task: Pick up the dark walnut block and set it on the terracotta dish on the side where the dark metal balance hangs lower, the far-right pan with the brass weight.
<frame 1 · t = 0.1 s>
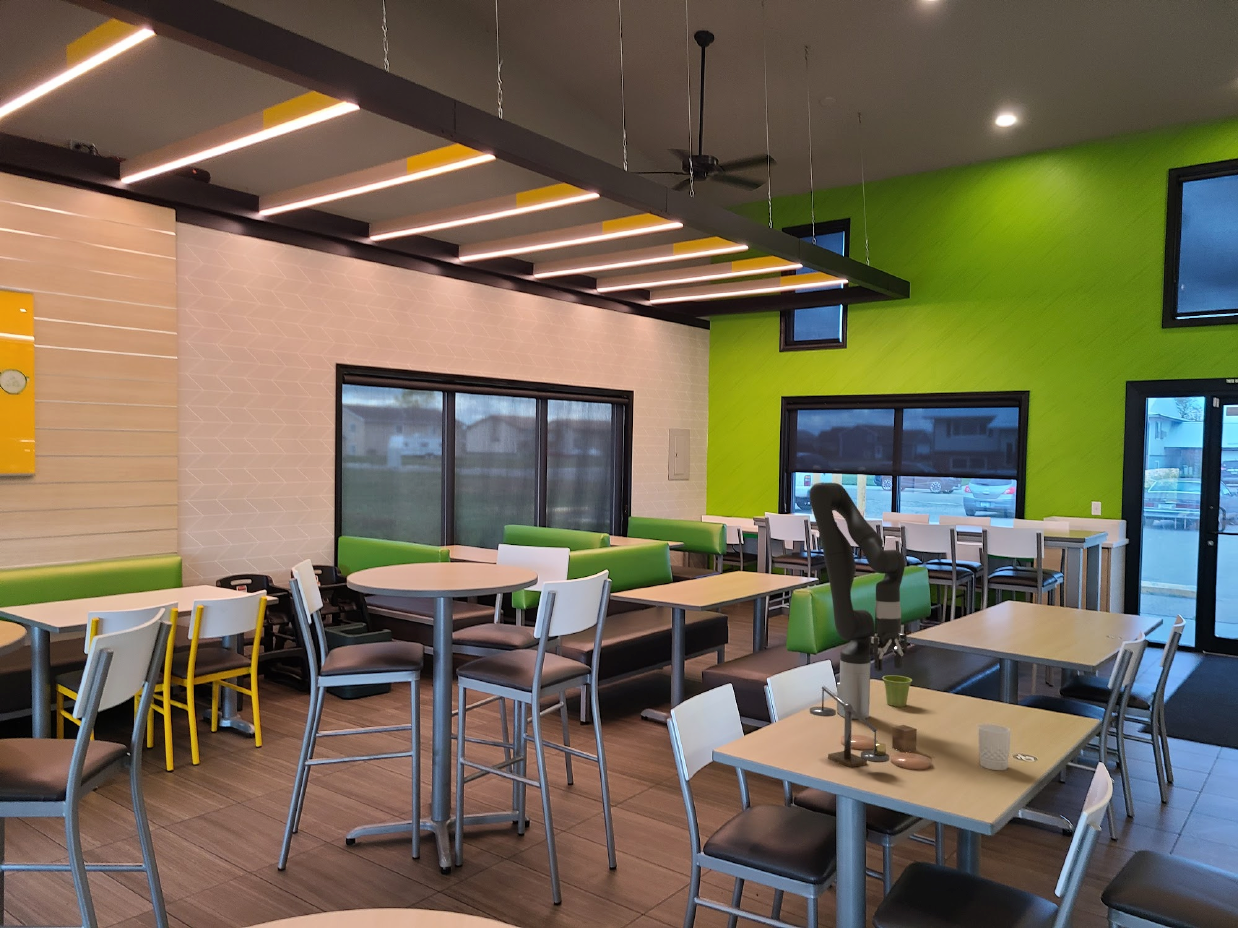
hand: (888, 669, 265), 17 cm above the table, tool pointing down, fingers open, 8 cm apart
balance: (847, 761, 232), on the table
dish right: (910, 763, 231), on the table
dish left: (859, 744, 247), on the table
walnut block: (904, 749, 243), on the table
plant pot: (896, 705, 291), on the table
white cup: (993, 766, 230), on the table
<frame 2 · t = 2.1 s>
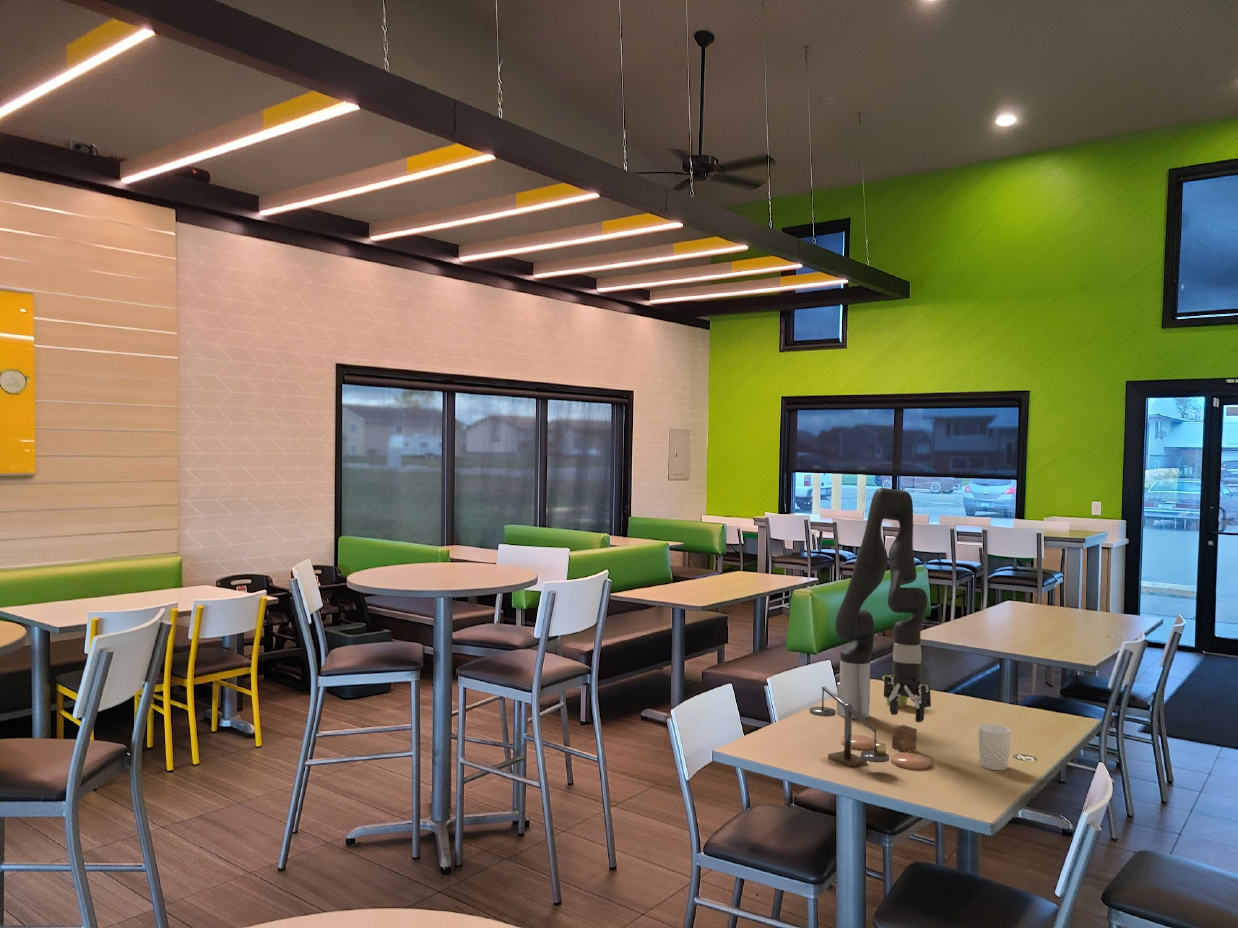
hand: (906, 717, 243), 9 cm above the table, tool pointing down, fingers open, 8 cm apart
nothing on the table moved.
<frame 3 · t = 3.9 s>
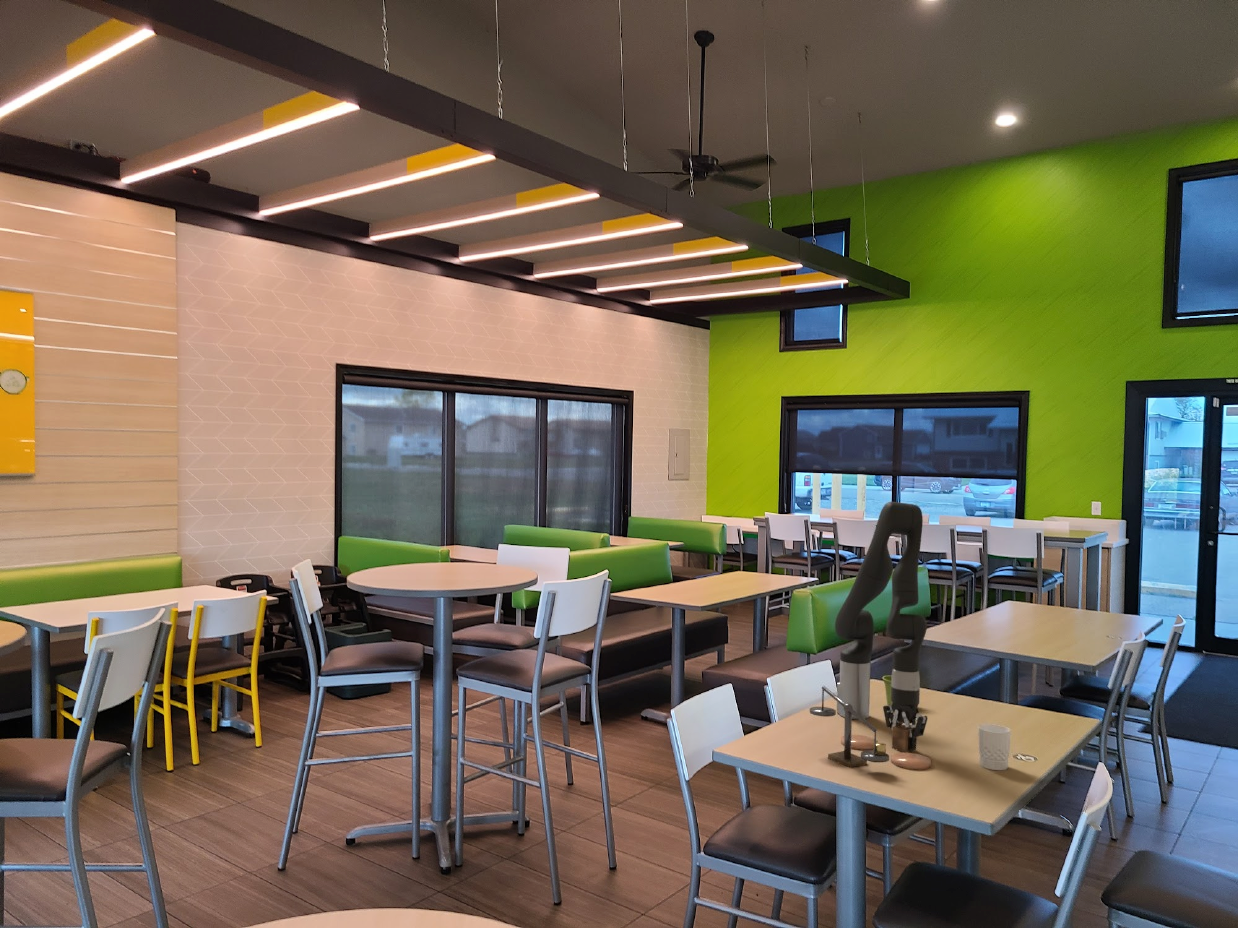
hand: (904, 747, 243), 1 cm above the table, tool pointing down, fingers closed on walnut block, 4 cm apart
walnut block: (904, 749, 243), on the table, touching gripper
everything else where it was.
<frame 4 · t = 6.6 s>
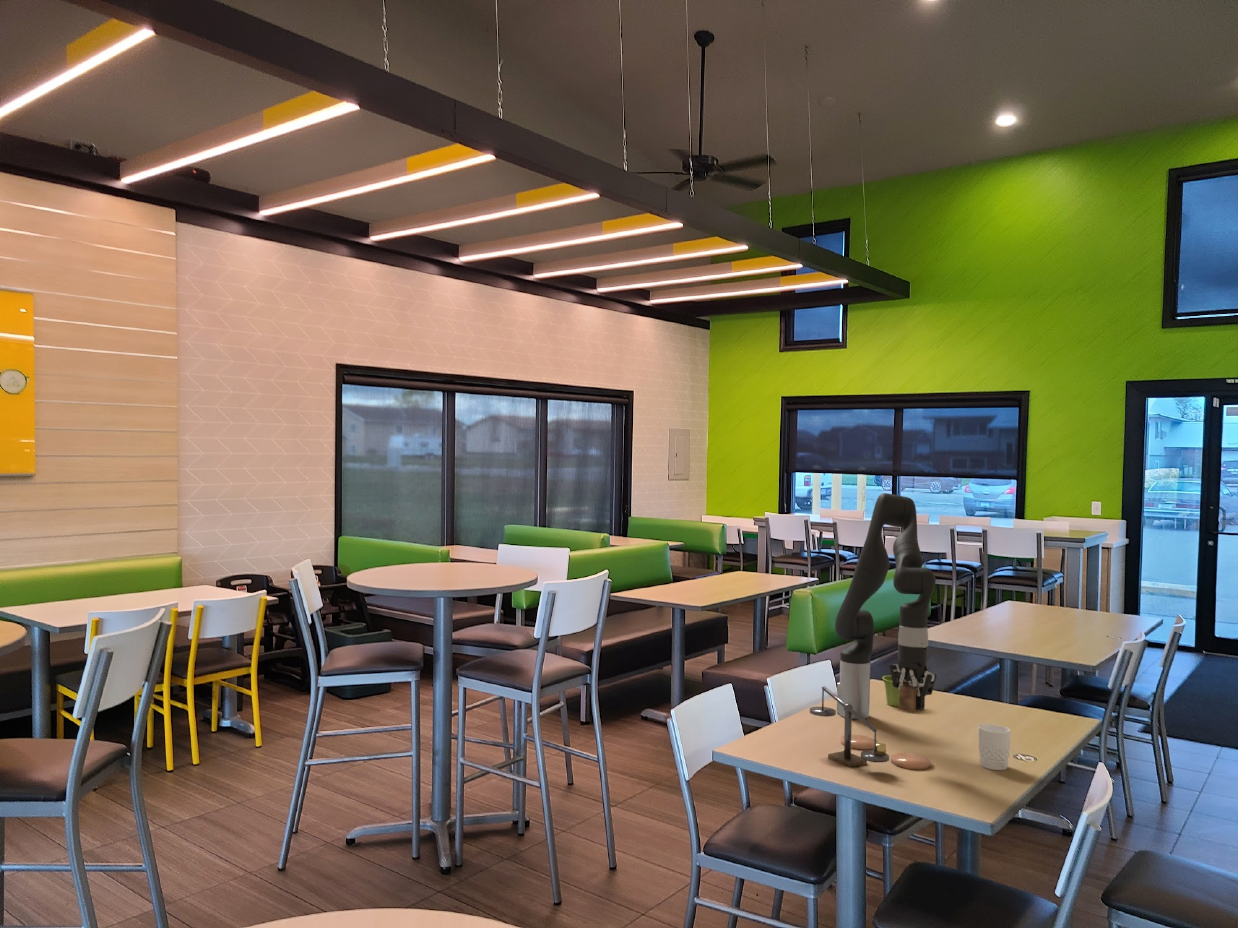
hand: (911, 707, 231), 15 cm above the table, tool pointing down, fingers closed on walnut block, 4 cm apart
walnut block: (911, 709, 231), point 14 cm above the table, touching gripper
everything else where it was.
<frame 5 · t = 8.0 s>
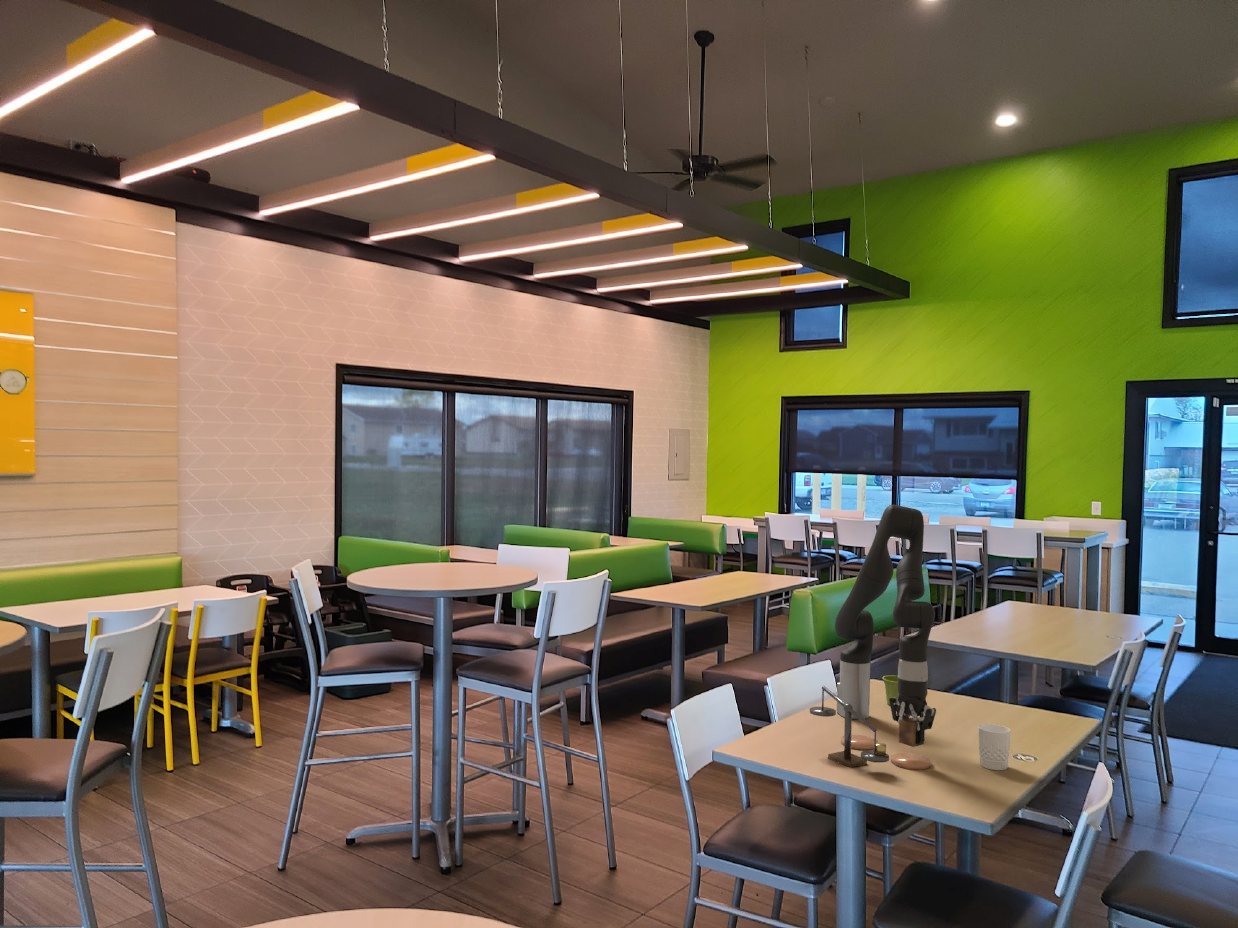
hand: (911, 741, 231), 6 cm above the table, tool pointing down, fingers closed on walnut block, 4 cm apart
walnut block: (911, 743, 231), point 5 cm above the table, touching gripper
everything else where it was.
when the fingers open (4 cm above the table, at t = 9.3 s): walnut block drops 2 cm, resting on dish right.
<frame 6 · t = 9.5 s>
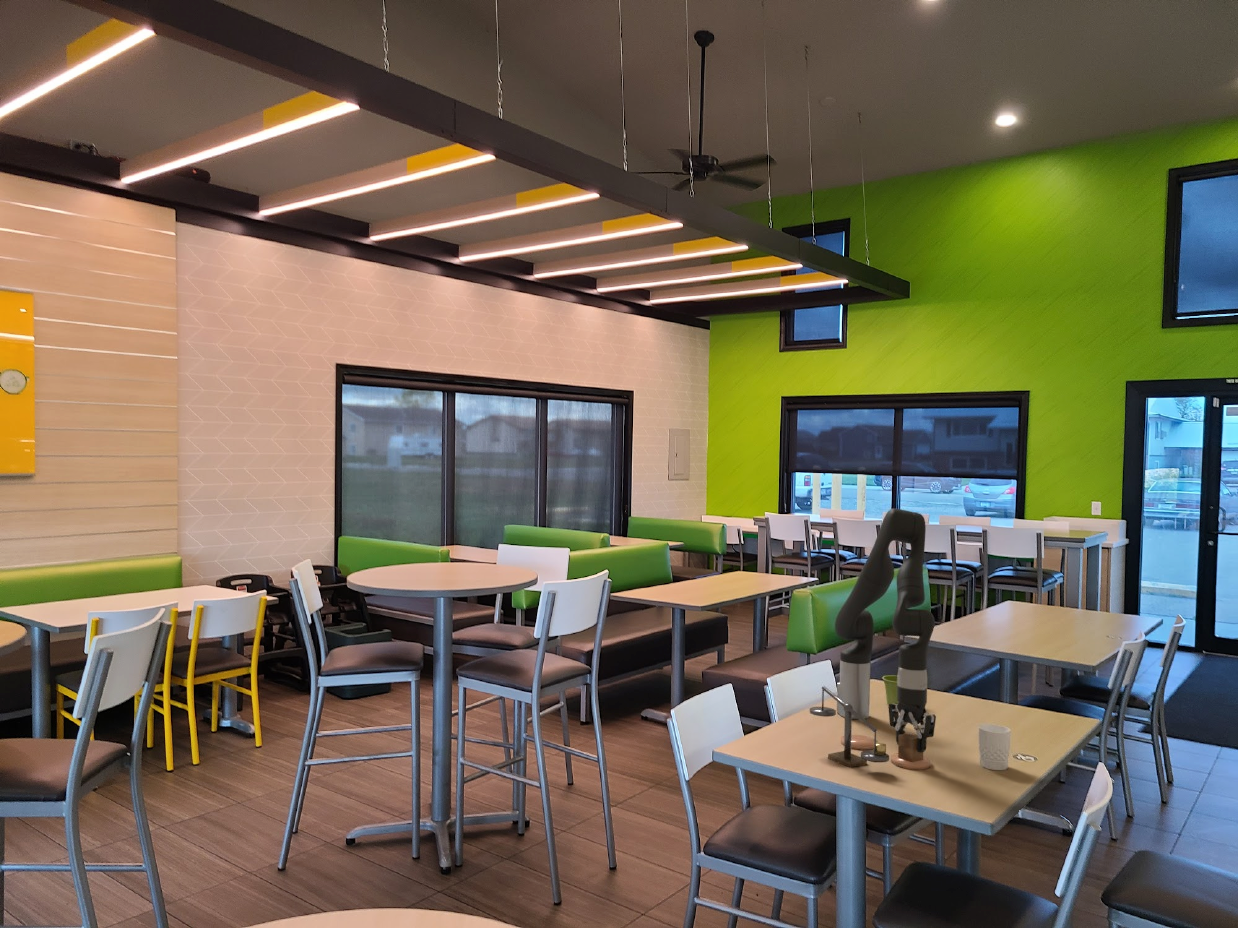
hand: (910, 747, 231), 4 cm above the table, tool pointing down, fingers open, 6 cm apart
walnut block: (910, 758, 231), point 1 cm above the table, touching dish right
everything else where it was.
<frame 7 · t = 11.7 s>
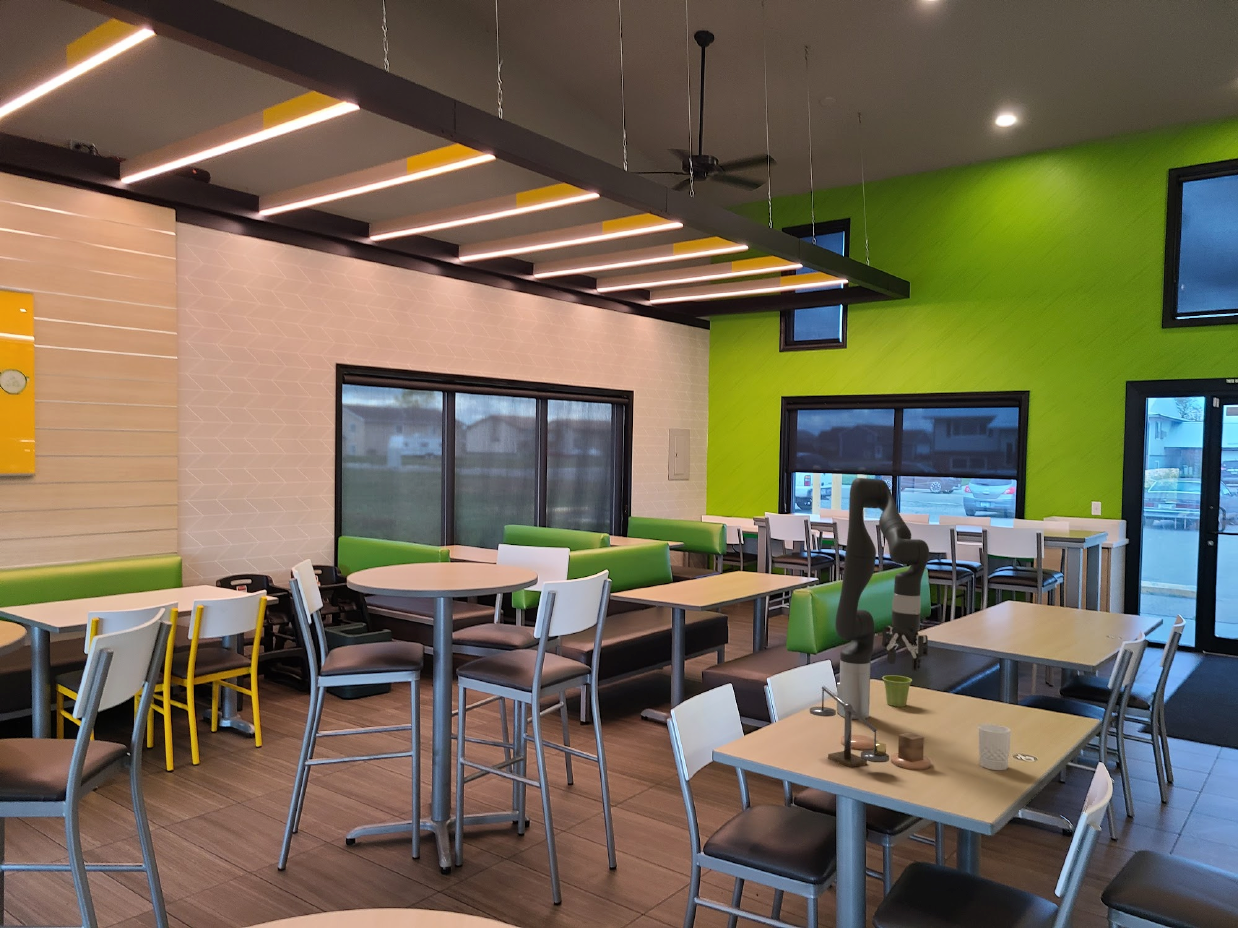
hand: (903, 667, 246), 22 cm above the table, tool pointing down, fingers open, 8 cm apart
nothing on the table moved.
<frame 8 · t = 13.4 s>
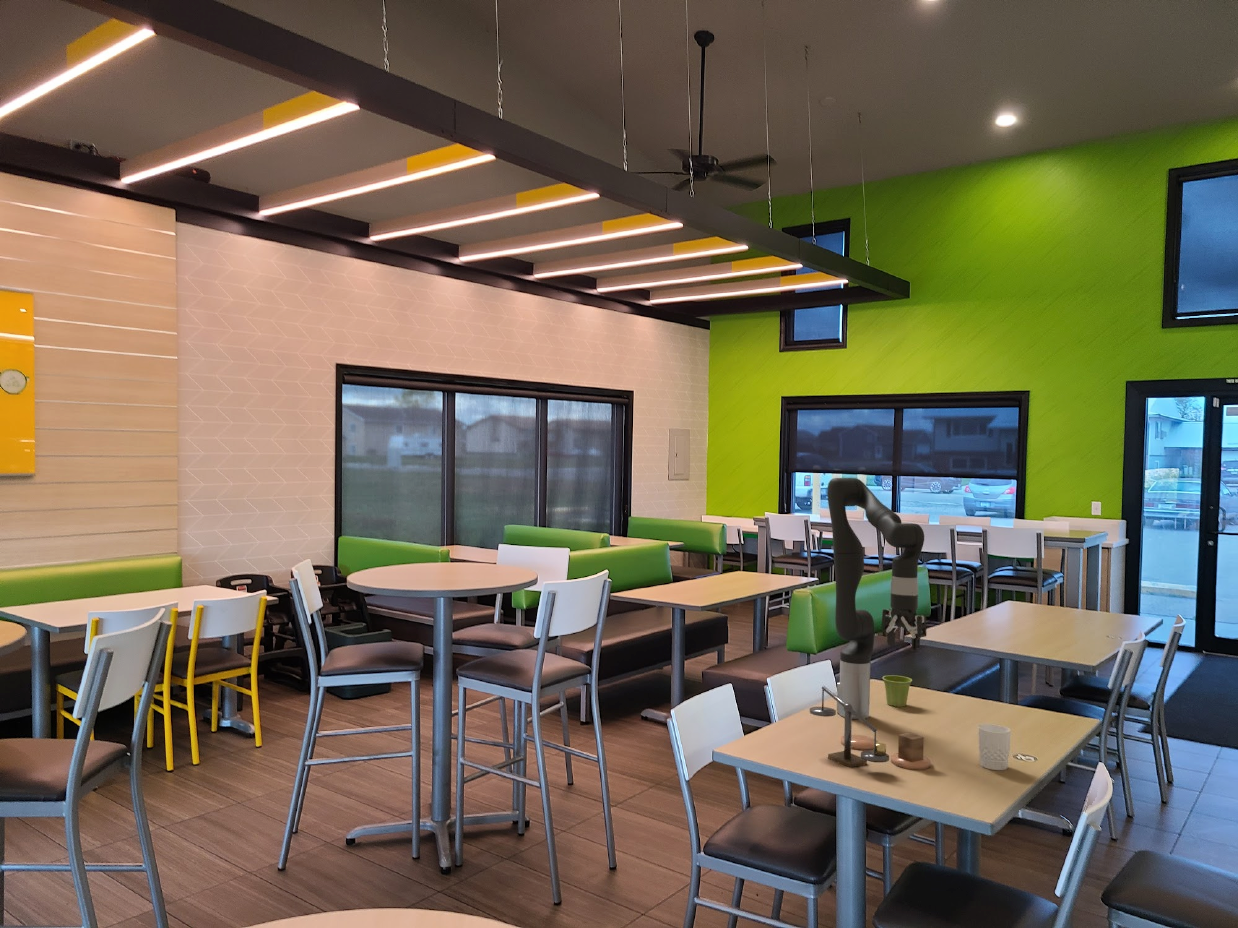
hand: (903, 648, 253), 26 cm above the table, tool pointing down, fingers open, 8 cm apart
nothing on the table moved.
at the end: walnut block inside the target area on the dish right (0.0 cm from its centre), point 1.2 cm above the dish right's base; walnut block tilted 0°; the gripper is holding nothing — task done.
